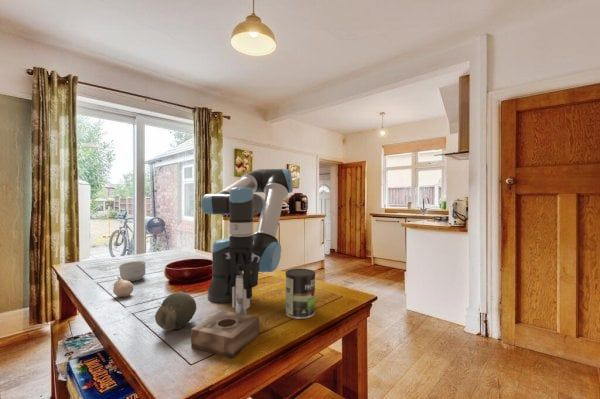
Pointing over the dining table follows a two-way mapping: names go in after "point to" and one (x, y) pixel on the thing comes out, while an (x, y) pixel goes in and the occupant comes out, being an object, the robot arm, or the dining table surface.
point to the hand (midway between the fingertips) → (241, 306)
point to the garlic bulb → (122, 288)
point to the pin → (239, 293)
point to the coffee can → (300, 293)
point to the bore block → (225, 333)
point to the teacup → (132, 270)
